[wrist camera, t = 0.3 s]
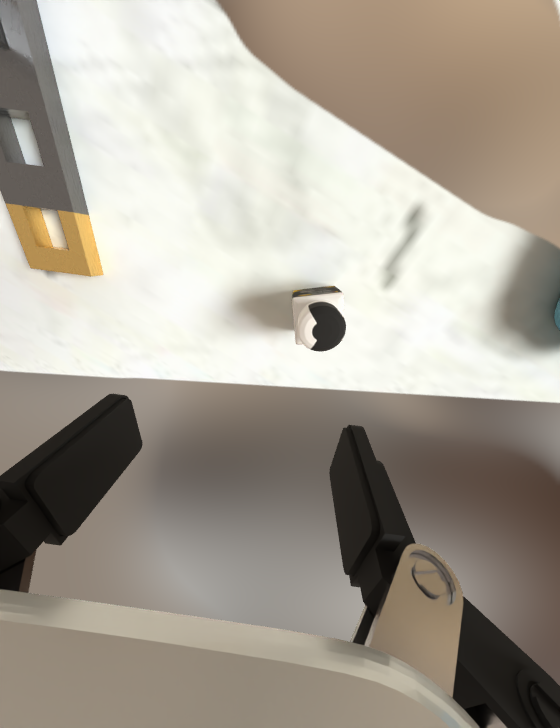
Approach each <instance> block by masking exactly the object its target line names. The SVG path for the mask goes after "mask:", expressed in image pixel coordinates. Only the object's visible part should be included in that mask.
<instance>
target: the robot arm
mask: <svg viewBox="0 0 560 728" xmlns="http://www.w3.org/2000/svg"><path fill="white" fill-rule="evenodd" d="M141 448H142V440H141V436H140V432H139V429H138V424H137V421H136V417H135V413H134V409H133V405H132V402H131V400H129V398H128V397H127V396H125V395H118V394H109V395H108V396H106V397H105V398H104V399H102V400H101V401H99V402H98V403H97V404H95V405H94V406H93V407H91V408H90V409H89V410H87V411H86V412H85V413H83V414H82V415H81V416H79V417H78V418H77V419H75V420H74V421H73V422H72V423H70V424H69V425H67V426H66V427H65V428H63V429H62V430H61V431H60V432H58V433H57V434H55V435H54V436H53V437H51V438H50V439H49V440H47V441H46V442H45V443H43V444H42V445H41V446H39V447H38V448H37V449H35V450H34V451H33V452H32V453H30V454H29V455H27V456H26V457H25V458H24V459H22V460H21V461H19V462H18V463H17V464H15V465H14V466H13V467H11V468H10V469H9V470H8V471H6V472H5V473H3V474H2V475H1V476H0V728H560V686H559V685H558V684H557V683H556V682H555V681H554V680H553V679H552V678H551V677H550V676H549V675H548V674H547V673H546V672H545V671H544V670H543V669H542V668H541V667H540V666H538V665H537V664H536V663H535V662H534V661H533V660H532V659H531V658H530V657H529V656H528V655H527V654H525V653H524V652H523V651H522V650H521V649H520V648H519V647H518V646H517V645H516V644H515V643H514V642H512V641H511V640H510V639H509V638H508V637H507V636H506V635H505V634H504V633H502V631H501V630H499V629H498V628H497V627H496V626H495V625H494V624H493V623H492V622H491V621H490V620H489V619H487V618H486V617H485V616H484V615H483V614H482V613H481V612H480V611H479V610H478V609H477V608H476V607H474V606H473V605H472V604H471V603H470V602H469V601H468V600H467V599H466V598H465V597H463V592H462V589H461V586H460V583H459V581H458V579H457V578H456V575H455V574H454V572H453V570H452V569H451V568H450V566H449V565H448V564H447V562H446V561H445V560H444V559H443V558H442V557H441V556H440V555H438V554H437V553H436V552H435V551H433V550H432V549H430V548H429V547H427V546H424V545H421V544H416V543H415V541H414V538H413V536H412V533H411V531H410V528H409V526H408V524H407V521H406V519H405V516H404V514H403V511H402V509H401V506H400V504H399V502H398V499H397V497H396V494H395V492H394V489H393V487H392V485H391V482H390V480H389V477H388V475H387V472H386V470H385V468H384V466H383V464H382V463H381V462H380V461H376V458H375V456H374V453H373V450H372V448H371V445H370V443H369V440H368V438H367V435H366V432H365V430H364V428H363V427H362V426H355V425H349V426H348V427H347V428H343V430H342V434H341V437H340V440H339V443H338V446H337V449H336V452H335V455H334V458H333V461H332V464H331V467H330V481H331V488H332V495H333V501H334V508H335V515H336V522H337V528H338V535H339V542H340V548H341V555H342V562H343V568H344V572H345V574H346V575H349V576H350V583H351V586H354V587H360V588H361V593H362V598H363V602H364V603H365V607H364V609H363V611H362V614H361V616H360V619H359V621H358V624H357V626H356V628H355V631H354V633H353V635H352V638H351V640H350V642H348V641H344V640H339V639H335V638H329V637H323V636H318V635H312V634H306V633H300V632H294V631H289V630H282V629H276V628H270V627H263V626H255V625H249V624H243V623H236V622H229V621H222V620H216V619H208V618H202V617H195V616H188V615H181V614H174V613H168V612H161V611H154V610H147V609H139V608H133V607H125V606H118V605H111V604H104V603H97V602H90V601H82V600H75V599H68V598H61V597H54V596H46V595H39V594H32V593H28V592H29V587H30V581H31V576H32V571H33V565H34V560H35V555H36V549H37V548H38V547H39V546H40V545H41V543H42V542H43V541H44V542H45V543H47V544H54V545H62V543H63V542H64V541H65V540H66V538H67V537H68V536H69V535H72V534H73V533H74V532H76V530H77V529H78V528H79V527H80V526H81V524H82V523H83V522H84V520H85V519H86V518H87V517H88V516H89V514H90V513H91V512H92V510H93V509H94V508H95V507H96V505H97V504H98V503H99V502H100V500H101V499H102V498H103V497H104V495H105V494H106V493H107V491H108V490H109V489H110V488H111V486H112V485H113V484H114V483H115V482H116V480H117V479H118V478H119V476H120V475H121V474H122V473H123V471H124V470H125V469H126V468H127V466H128V465H129V464H130V463H131V461H132V460H133V459H134V458H135V456H136V455H137V454H138V453H139V451H140V450H141Z"/></svg>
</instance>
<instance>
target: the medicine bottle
mask: <svg viewBox="0 0 560 728" xmlns="http://www.w3.org/2000/svg"><path fill="white" fill-rule="evenodd" d="M292 307H293V318H294V329H295V340H296V344H297V345H302V344H304V345H305V346H306V347H307V348H309V349H311V350H314V351H327V350H330V349H332V348H334V347H335V346H337V345H338V344H339V343H340V342H341V341H342V340H343V337H344V335H345V330H346V324H345V320H344V318H343V311H344V294H343V293H342V292H341V291H340V290H339V289H338V288H336V287H335V286H329V287H321V288H312V289H303V290H295V291H293V294H292Z"/></svg>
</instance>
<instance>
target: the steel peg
mask: <svg viewBox="0 0 560 728" xmlns="http://www.w3.org/2000/svg"><path fill="white" fill-rule="evenodd" d="M0 49H2V50H9V46H8V43H7V39H6V36H5V33H4V29H3V26H2V23H1V19H0Z"/></svg>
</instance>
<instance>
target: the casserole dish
mask: <svg viewBox="0 0 560 728" xmlns="http://www.w3.org/2000/svg"><path fill="white" fill-rule="evenodd" d="M554 319H555V323H556V326H557V327H558V329H559V330H560V298H559V301H558V303H557V306H556V309H555V315H554Z"/></svg>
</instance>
